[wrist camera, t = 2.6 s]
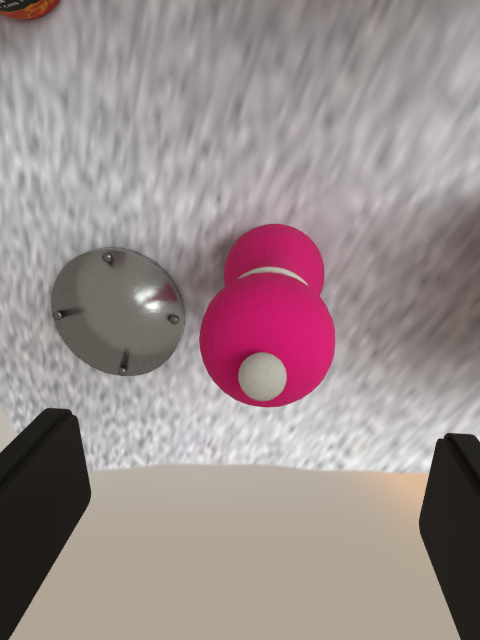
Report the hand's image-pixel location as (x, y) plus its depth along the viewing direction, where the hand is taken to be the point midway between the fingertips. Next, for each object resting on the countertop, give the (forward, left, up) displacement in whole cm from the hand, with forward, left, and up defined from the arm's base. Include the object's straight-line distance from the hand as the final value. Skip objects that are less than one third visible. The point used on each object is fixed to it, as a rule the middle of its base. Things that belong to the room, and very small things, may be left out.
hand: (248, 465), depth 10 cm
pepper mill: (0, 0, -24) cm, 24 cm away
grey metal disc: (+14, +5, -24) cm, 28 cm away
